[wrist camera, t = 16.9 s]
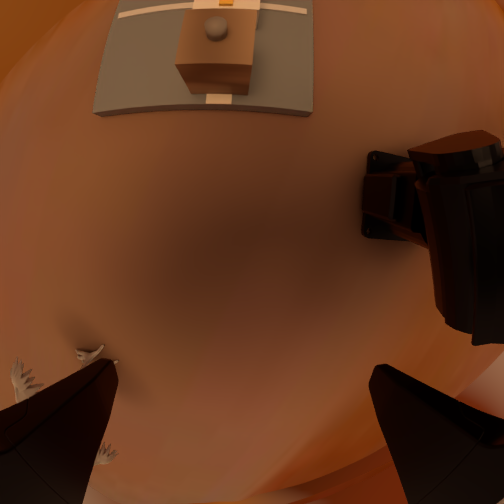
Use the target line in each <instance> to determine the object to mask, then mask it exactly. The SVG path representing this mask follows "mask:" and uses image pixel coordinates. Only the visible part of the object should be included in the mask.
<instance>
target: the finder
mask: <svg viewBox="0 0 504 504" xmlns="http://www.w3.org/2000/svg"><path fill="white" fill-rule="evenodd" d="M211 8H227V9H251V10H257V17H256V28H255V29H257V23H258V17H259V10H260V0H194V3H193V8H192V9H211Z"/></svg>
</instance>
